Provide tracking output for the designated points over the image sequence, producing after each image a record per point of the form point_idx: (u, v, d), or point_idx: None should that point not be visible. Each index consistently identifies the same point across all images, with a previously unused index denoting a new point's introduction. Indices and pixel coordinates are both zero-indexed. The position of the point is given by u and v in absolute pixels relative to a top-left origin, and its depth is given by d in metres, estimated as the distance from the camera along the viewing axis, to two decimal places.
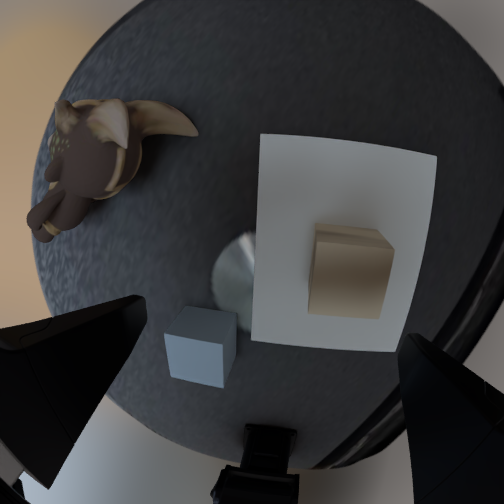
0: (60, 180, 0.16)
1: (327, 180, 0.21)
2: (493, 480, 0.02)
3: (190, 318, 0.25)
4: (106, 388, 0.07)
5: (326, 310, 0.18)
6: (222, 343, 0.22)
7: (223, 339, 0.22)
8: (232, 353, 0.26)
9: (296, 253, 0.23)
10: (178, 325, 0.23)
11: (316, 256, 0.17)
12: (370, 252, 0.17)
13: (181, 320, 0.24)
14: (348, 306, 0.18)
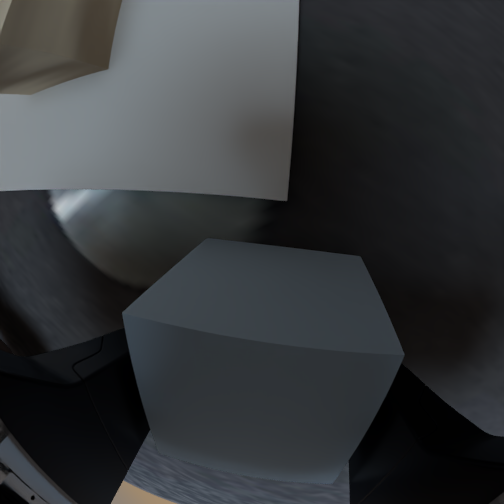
0: None
1: (0, 97, 0.09)
2: (414, 502, 0.03)
3: None
4: None
5: (2, 10, 0.03)
6: (128, 310, 0.05)
7: None
8: (316, 270, 0.07)
9: (62, 109, 0.08)
10: None
11: None
12: None
13: None
14: None
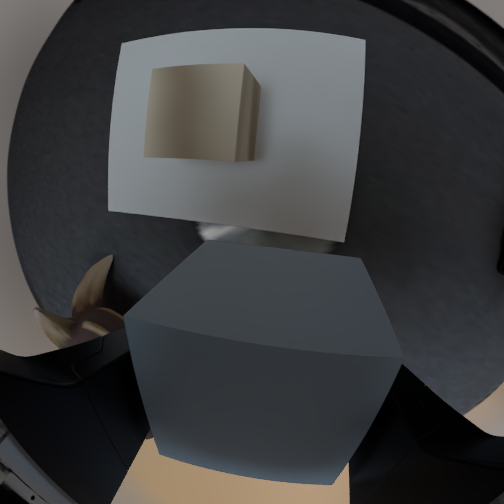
0: None
1: (142, 145, 0.19)
2: (414, 502, 0.03)
3: None
4: None
5: (228, 136, 0.13)
6: (129, 313, 0.05)
7: None
8: (317, 273, 0.07)
9: (216, 175, 0.19)
10: None
11: (159, 156, 0.14)
12: (154, 95, 0.13)
13: None
14: (222, 107, 0.12)
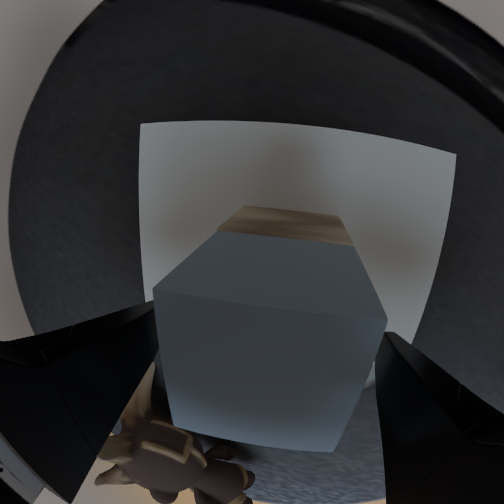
0: (174, 492, 0.16)
1: None
2: (461, 491, 0.02)
3: None
4: (129, 397, 0.07)
5: None
6: (157, 287, 0.06)
7: None
8: (315, 256, 0.09)
9: None
10: None
11: None
12: None
13: None
14: None
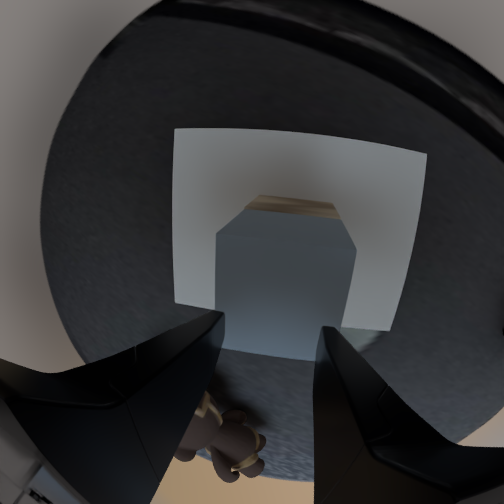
0: (193, 449, 0.20)
1: (211, 249, 0.22)
2: None
3: None
4: (191, 416, 0.07)
5: None
6: None
7: None
8: (313, 223, 0.13)
9: None
10: None
11: None
12: None
13: None
14: None
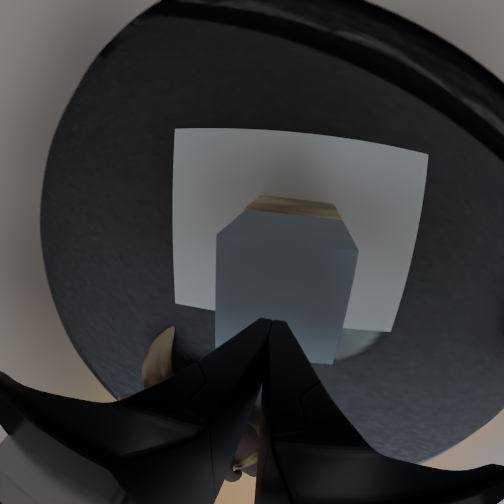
0: None
1: (211, 249, 0.21)
2: None
3: None
4: (244, 428, 0.07)
5: None
6: (218, 234, 0.10)
7: None
8: (314, 224, 0.13)
9: None
10: None
11: None
12: None
13: None
14: None
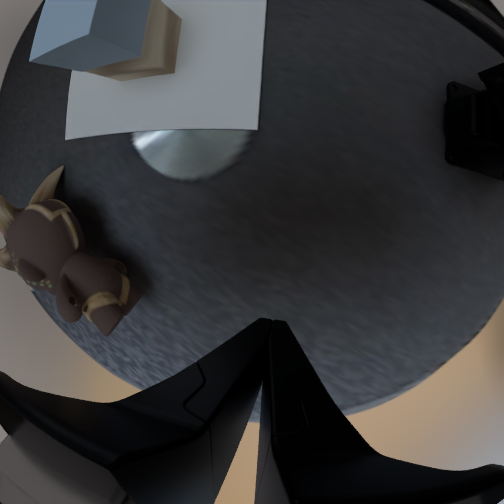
0: (39, 268, 0.17)
1: (93, 81, 0.19)
2: None
3: None
4: (244, 428, 0.07)
5: None
6: None
7: None
8: None
9: (146, 90, 0.19)
10: None
11: None
12: None
13: None
14: None
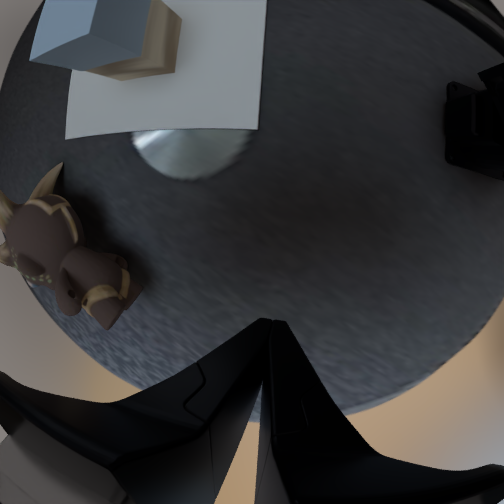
0: (38, 262, 0.17)
1: (93, 80, 0.19)
2: None
3: None
4: (244, 428, 0.07)
5: None
6: None
7: None
8: None
9: (146, 90, 0.19)
10: None
11: None
12: None
13: None
14: None
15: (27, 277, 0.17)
